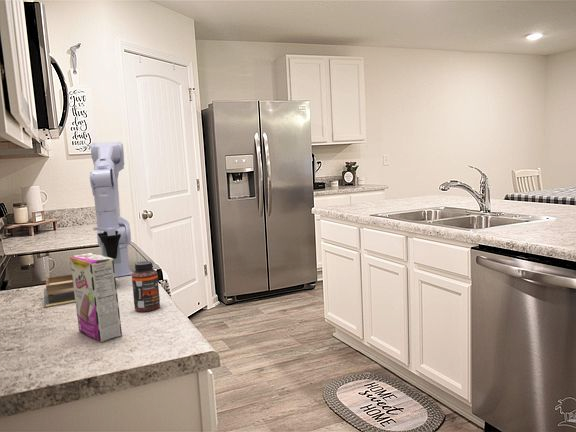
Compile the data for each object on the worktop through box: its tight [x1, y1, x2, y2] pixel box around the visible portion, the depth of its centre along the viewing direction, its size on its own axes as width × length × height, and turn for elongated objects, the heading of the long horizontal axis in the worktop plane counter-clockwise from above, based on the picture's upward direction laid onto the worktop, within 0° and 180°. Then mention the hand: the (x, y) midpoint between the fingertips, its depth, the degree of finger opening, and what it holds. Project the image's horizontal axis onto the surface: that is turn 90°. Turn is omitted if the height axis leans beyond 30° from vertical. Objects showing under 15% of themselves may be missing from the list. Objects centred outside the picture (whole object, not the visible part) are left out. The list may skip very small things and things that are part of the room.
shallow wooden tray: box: [45, 273, 74, 302], centre depth 131 cm, size 11×11×5 cm
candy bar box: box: [69, 252, 123, 343], centre depth 99 cm, size 11×5×16 cm, turn 44°
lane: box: [43, 288, 76, 309], centre depth 135 cm, size 22×13×1 cm, turn 27°
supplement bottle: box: [131, 260, 161, 313], centre depth 115 cm, size 6×6×11 cm
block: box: [100, 243, 121, 264], centre depth 140 cm, size 4×4×6 cm
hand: (111, 257), depth 140 cm, fingers closed on block, 4 cm apart
